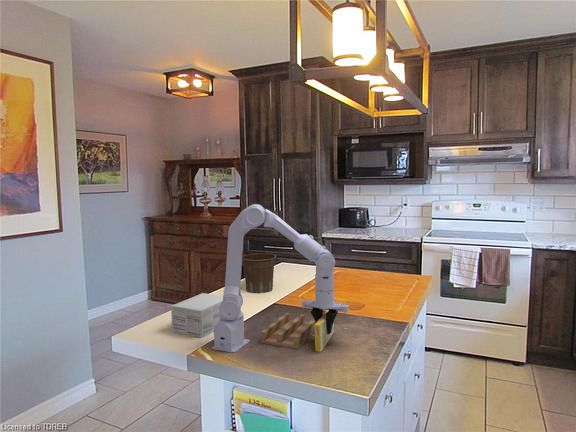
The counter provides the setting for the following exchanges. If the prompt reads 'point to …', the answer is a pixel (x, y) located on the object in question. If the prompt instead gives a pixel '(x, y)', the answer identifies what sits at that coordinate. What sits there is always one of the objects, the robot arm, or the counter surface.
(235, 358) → the counter surface
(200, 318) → the supplement box
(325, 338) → the candy box
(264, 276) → the plant pot
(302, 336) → the rack
